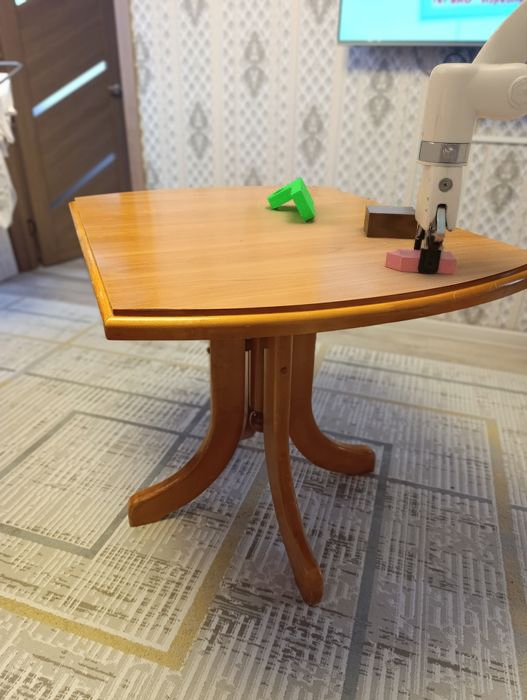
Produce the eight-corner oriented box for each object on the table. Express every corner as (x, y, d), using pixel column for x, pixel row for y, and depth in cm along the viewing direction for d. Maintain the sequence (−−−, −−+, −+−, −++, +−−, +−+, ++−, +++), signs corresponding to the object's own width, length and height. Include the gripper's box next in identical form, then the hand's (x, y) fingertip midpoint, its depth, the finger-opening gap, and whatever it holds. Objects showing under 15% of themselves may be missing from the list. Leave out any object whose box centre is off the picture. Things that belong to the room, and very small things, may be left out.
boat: (447, 265, 89) (452, 239, 87) (454, 274, 85) (459, 247, 83) (383, 262, 90) (386, 237, 88) (386, 270, 86) (390, 244, 84)
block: (409, 229, 112) (412, 206, 110) (415, 239, 105) (419, 214, 103) (363, 227, 113) (366, 204, 111) (366, 236, 106) (369, 212, 104)
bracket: (280, 220, 135) (267, 195, 132) (314, 202, 132) (301, 176, 129) (277, 239, 117) (261, 210, 114) (315, 218, 114) (300, 189, 111)
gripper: (484, 161, 71) (458, 284, 80) (454, 149, 86) (435, 254, 95) (429, 159, 72) (410, 282, 80) (409, 148, 87) (395, 252, 95)
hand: (424, 265), depth 87 cm, fingers closed on boat, 5 cm apart
